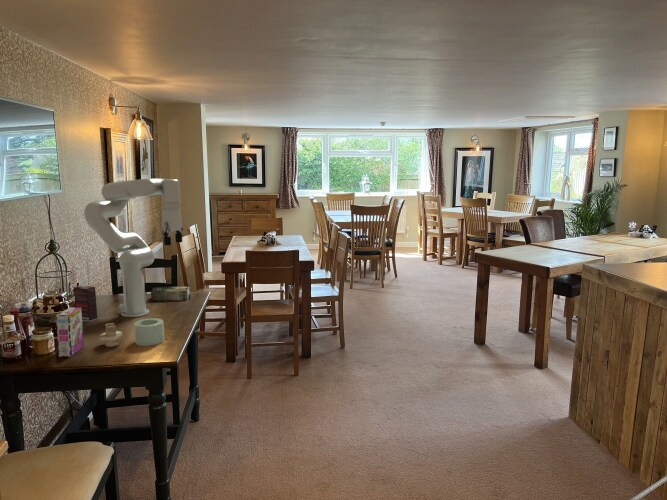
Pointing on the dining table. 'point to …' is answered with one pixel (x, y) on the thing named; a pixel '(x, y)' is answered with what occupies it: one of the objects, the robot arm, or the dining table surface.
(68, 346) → the candy bar box
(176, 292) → the juice carton
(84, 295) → the supplement box
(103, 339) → the stopper
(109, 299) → the dining table surface
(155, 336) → the canister
